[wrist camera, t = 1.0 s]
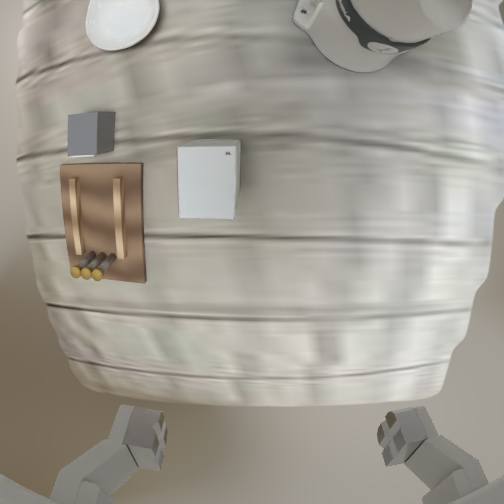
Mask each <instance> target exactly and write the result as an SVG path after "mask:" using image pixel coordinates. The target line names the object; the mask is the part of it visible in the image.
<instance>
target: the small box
mask: <svg viewBox="0 0 504 504" xmlns="http://www.w3.org/2000/svg"><path fill="white" fill-rule="evenodd" d="M240 156H241V140H239V139H197V140H194V141H191V142H189V143H186V144H183V145H181V146H178V147H177V181H178V209H179V218H194V219H223V220H234V219H235V215H236V209H237V203H238V197H239V191H240Z"/></svg>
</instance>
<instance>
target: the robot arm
mask: <svg viewBox="0 0 504 504" xmlns="http://www.w3.org/2000/svg"><path fill="white" fill-rule="evenodd" d="M503 1H504V0H503ZM471 8H472V0H298V3H297V6H296V9H295V12H294V15H293V21H294V22H295V24H296V25H298V26H299V27H300V28H301V29H303V30H304V31H305V32H307V33H308V34H309V35H310V37H311V38H312V40H313V42H314V43H315V45H316V46H317V48H318V49H319V50H320V51H321V53H322V54H323V55H324V56H325V57H327V58H328V59H329V60H330V61H332V62H333V63H335V64H336V65H338V66H340V67H342V68H345V69H348V70H351V71H355V72H373V71H377V70H380V69H382V68H384V67H385V66H386V65H388V64H389V63H390V62H391V61H392V60H393V59H394V58H395V57H396V56H398V55H400V54H403V53H406V52H408V51H409V50H410V49H412V48H415V47H417V46H420V45H423V44H424V43H426V42H427V41H429V40H430V39H431V38H432V37H434V36H437V35H440V34H443V33H446V32H449V31H452V30H455V29H457V28H459V27H460V26H462V25H463V23H464V22H465V21H466V20H467V18H468V16H469V14H470V12H471ZM301 11H305V12H306V14H303V13H302V12H301ZM385 417H386V420H385V421H384V422H382V423H381V424H380V426H379V428H378V432H377V438H378V442H379V445H380V446H382V447H383V448H384V450H383V452H382V455H383V458H384V461H385V465H386V466H392V465H397V464H401V463H405V465H406V466H407V467H408V468H409V469H410V470H411V471H412V472H413V473H414V474H415V475H416V476H417V477H418V478H419V479H420V480H421V481H423V482H424V483H425V484H426V485H427V486H428V487H429V488H430V489H431V491H430V492H428V493H427V494H426V495H425V496H424V497H423V498H422V501H423V504H504V475H503V476H501V477H500V478H498V479H496V480H494V481H492V482H491V483H488V481H487V478H486V476H485V474H484V471H483V469H482V467H481V465H480V463H479V460H477V459H476V458H474V457H473V456H471V455H470V454H468V453H467V452H465V451H464V450H462V449H461V448H459V447H458V446H457V445H455V444H454V443H452V442H451V441H449V440H448V439H446V438H445V437H444V436H442V435H440V436H439V435H438V433H437V431H436V429H435V426H434V424H433V423H432V420H431V418H430V416H429V414H428V412H427V410H426V408H425V407H424V406H417V407H412V408H406V409H400V410H395V411H390V412H388V413H387V415H386V416H385ZM164 418H165V416H164V413H163V412H161V411H155V410H148V409H143V408H138V407H133V406H128V405H121V406H120V407H119V409H118V412H117V415H116V418H115V421H114V423H113V426H112V429H111V432H110V435H109V438H108V440H102V441H101V442H100V443H98V444H97V445H96V446H94V447H93V448H91V449H90V450H89V451H87V452H86V453H85V454H83V455H82V456H80V457H79V458H77V459H76V460H75V461H73V462H72V463H70V464H69V465H67V466H66V467H64V468H63V469H61V470H60V472H59V474H58V477H57V480H56V483H55V485H54V488H53V491H52V494H51V497H50V500H49V499H47V498H45V497H43V496H41V495H38V494H36V493H35V492H32V491H30V490H28V489H27V488H25V487H23V486H21V485H19V484H17V483H15V482H13V481H12V480H10V479H8V478H6V477H5V476H3V475H1V474H0V504H115V503H114V502H113V501H112V500H111V499H110V498H109V496H110V495H111V494H112V493H114V492H115V491H116V490H117V489H118V488H119V487H120V486H121V485H122V484H123V483H124V482H125V481H126V480H127V479H128V478H129V477H130V476H132V475H133V473H135V471H136V470H138V467H140V468H145V469H151V470H158V471H161V469H162V463H163V459H164V455H163V452H162V449H163V448H165V447H166V443H167V433H168V431H167V424H166V423H164Z"/></svg>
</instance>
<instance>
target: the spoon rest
mask: <svg viewBox="0 0 504 504" xmlns="http://www.w3.org/2000/svg"><path fill="white" fill-rule="evenodd" d="M159 11H160V4H159V0H90V3H89V7H88V11H87V16H86V33H87V35H88V38H89V40H90V41H91V43H92V44H93V45H95V46H96V47H98V48H100V49H103V50H107V51H115V50H121V49H125V48H128V47H131V46H133V45H135V44H136V43H138V42H140V41H141V40H142V39H144V38H145V37H146V36H147V35H148V34H149V33H150V32H151V30H152V29H153V27H154V26H155V24H156V22H157V19H158V16H159Z"/></svg>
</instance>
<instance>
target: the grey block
mask: <svg viewBox="0 0 504 504" xmlns="http://www.w3.org/2000/svg"><path fill="white" fill-rule="evenodd" d="M114 128H115V112H91V113H81V114H73V115H68V156H71V157H86V156H97V155H98V154H102V153H105V152H109V151H113V150H114Z"/></svg>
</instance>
